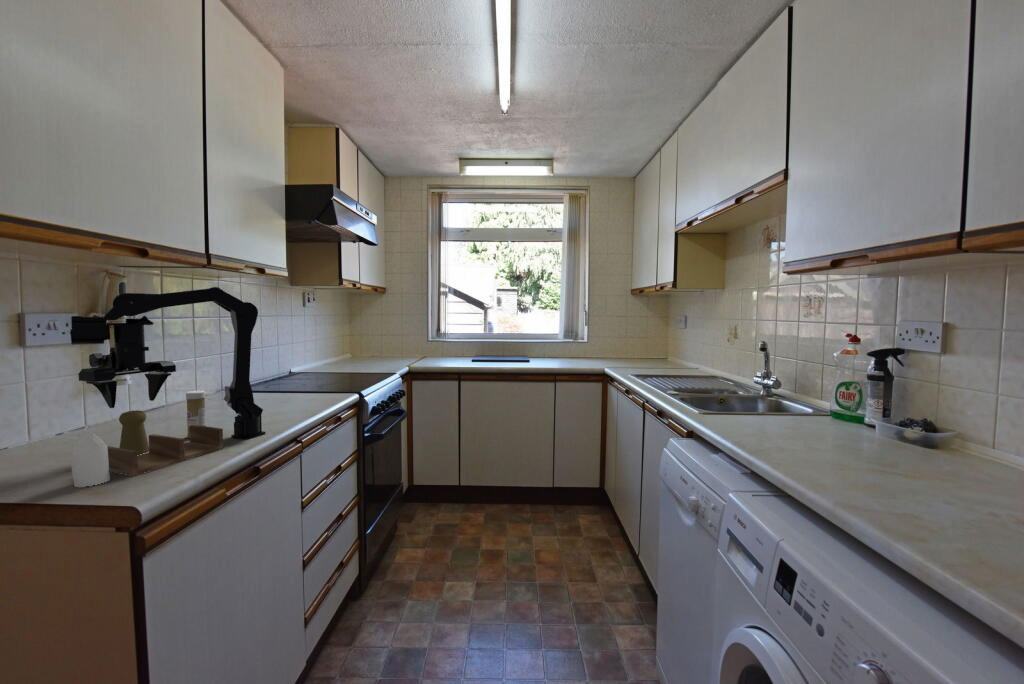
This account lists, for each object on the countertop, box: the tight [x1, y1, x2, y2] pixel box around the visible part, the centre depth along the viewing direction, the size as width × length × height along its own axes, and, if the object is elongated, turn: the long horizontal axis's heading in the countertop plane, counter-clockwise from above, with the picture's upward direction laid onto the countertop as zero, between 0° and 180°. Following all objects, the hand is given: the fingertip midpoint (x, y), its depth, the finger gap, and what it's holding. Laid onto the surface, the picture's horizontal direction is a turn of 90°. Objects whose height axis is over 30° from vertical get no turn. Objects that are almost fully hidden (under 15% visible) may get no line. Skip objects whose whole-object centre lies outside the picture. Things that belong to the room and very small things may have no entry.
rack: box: [107, 425, 224, 477], centre depth 106 cm, size 21×11×6 cm, turn 162°
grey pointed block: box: [70, 427, 111, 488], centre depth 90 cm, size 6×12×6 cm
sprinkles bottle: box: [185, 389, 207, 439], centre depth 125 cm, size 5×5×14 cm
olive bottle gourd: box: [118, 410, 149, 456], centre depth 109 cm, size 6×6×11 cm
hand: (132, 404), depth 108 cm, fingers open, 9 cm apart
